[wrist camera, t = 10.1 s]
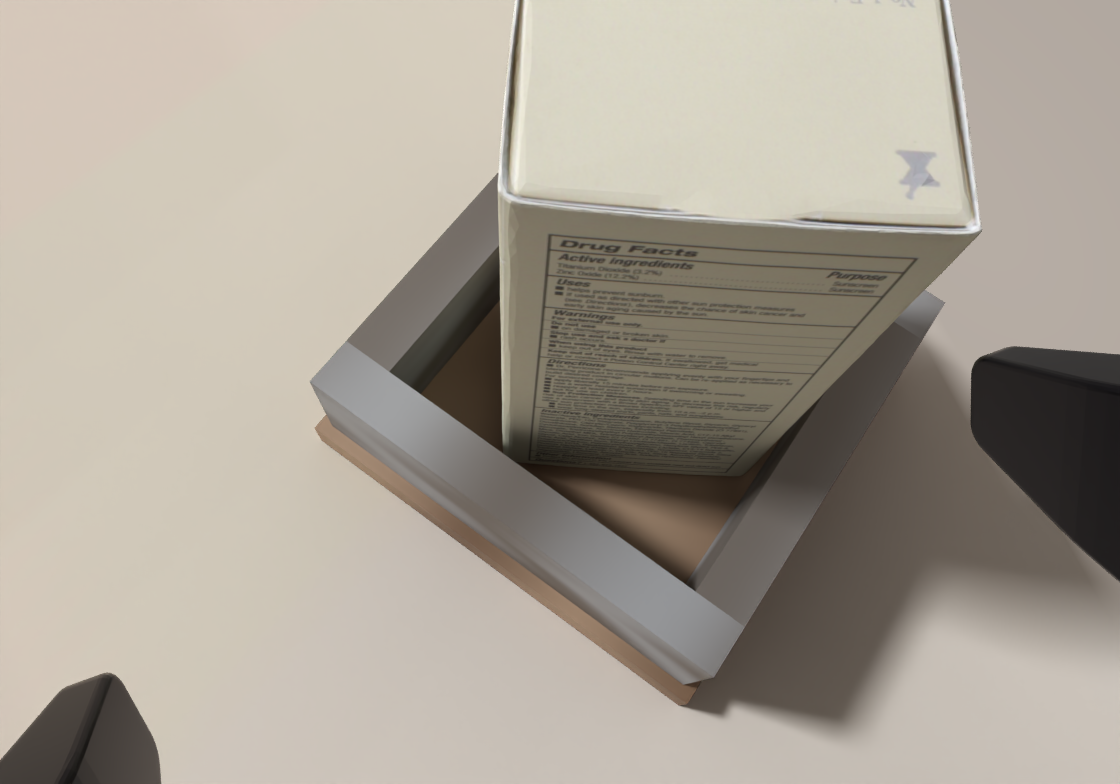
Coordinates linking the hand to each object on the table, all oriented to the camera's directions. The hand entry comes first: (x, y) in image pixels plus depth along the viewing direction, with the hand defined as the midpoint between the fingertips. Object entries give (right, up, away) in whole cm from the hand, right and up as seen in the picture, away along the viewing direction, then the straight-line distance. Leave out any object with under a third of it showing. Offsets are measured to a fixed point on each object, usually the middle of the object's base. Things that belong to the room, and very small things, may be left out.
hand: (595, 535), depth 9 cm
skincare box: (+1, +1, +14) cm, 14 cm away
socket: (+1, +1, +15) cm, 15 cm away
